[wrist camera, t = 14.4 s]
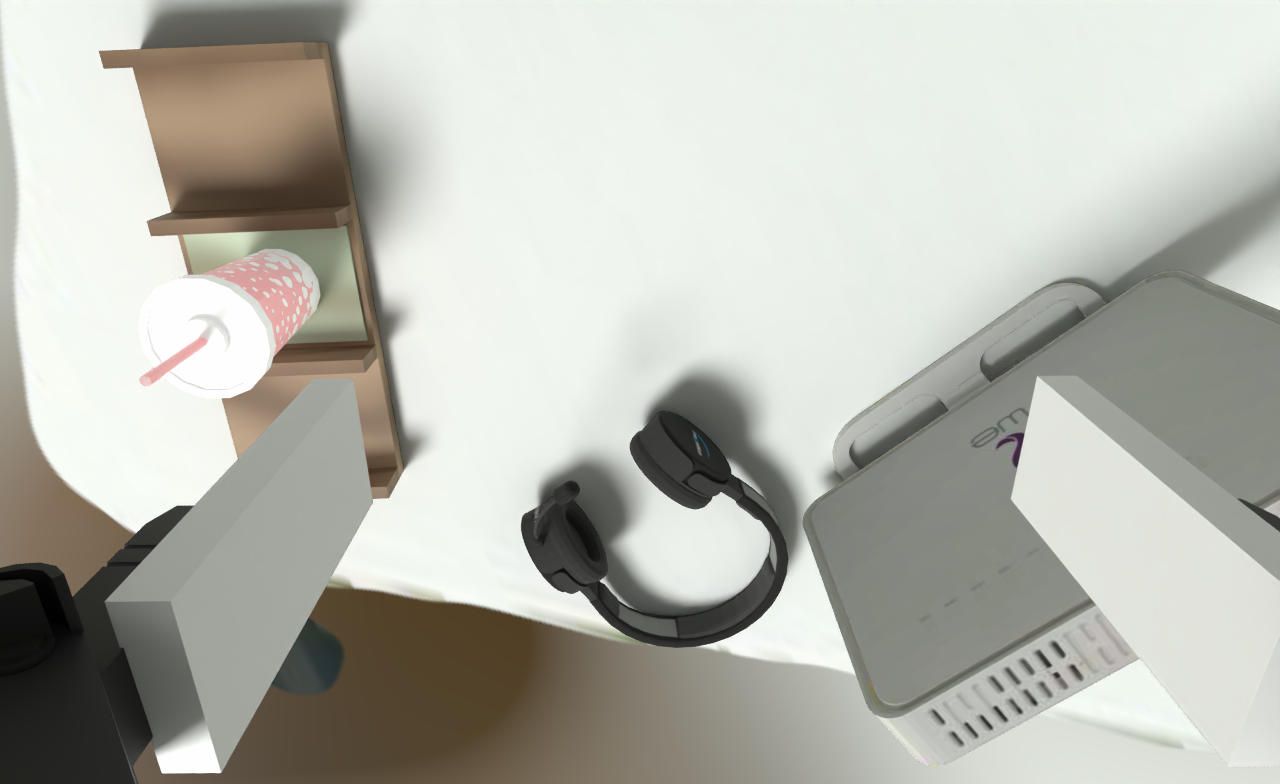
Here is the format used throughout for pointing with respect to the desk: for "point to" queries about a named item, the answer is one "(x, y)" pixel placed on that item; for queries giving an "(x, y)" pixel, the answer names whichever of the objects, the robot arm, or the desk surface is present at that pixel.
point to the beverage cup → (226, 322)
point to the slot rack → (271, 212)
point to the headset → (689, 478)
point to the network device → (998, 531)
